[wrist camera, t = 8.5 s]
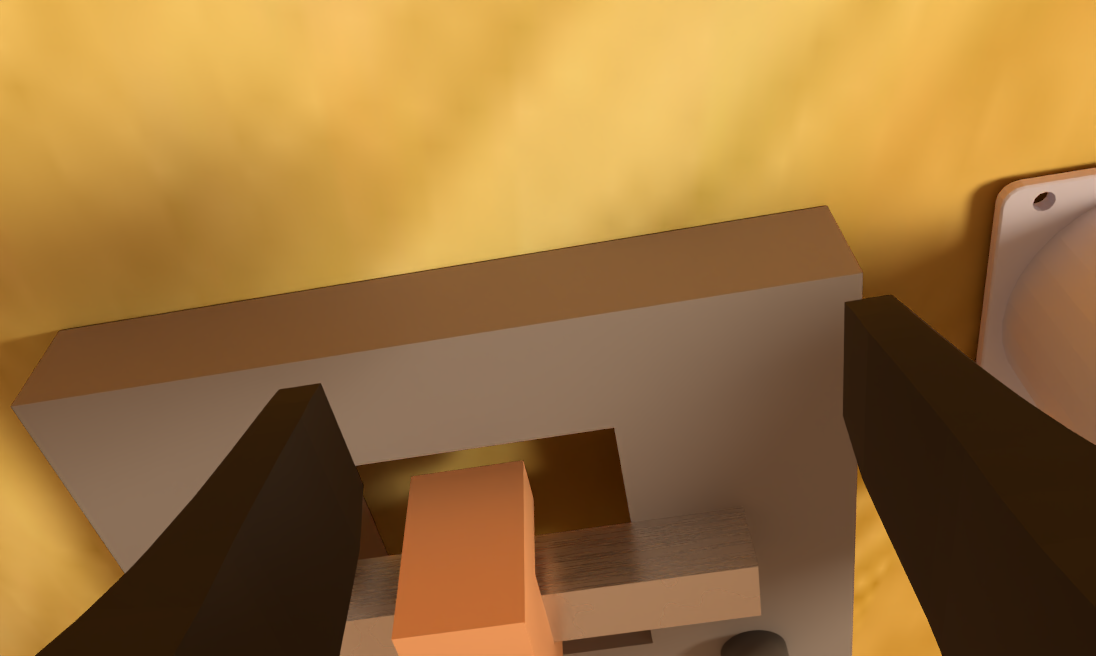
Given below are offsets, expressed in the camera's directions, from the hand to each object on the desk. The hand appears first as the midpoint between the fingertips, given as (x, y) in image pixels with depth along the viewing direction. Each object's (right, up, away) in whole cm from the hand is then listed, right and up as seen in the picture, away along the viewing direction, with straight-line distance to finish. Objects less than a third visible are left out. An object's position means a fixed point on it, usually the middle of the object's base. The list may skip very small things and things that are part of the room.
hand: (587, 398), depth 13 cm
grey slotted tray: (-2, -4, +16) cm, 16 cm away
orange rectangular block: (-2, -5, +14) cm, 15 cm away
